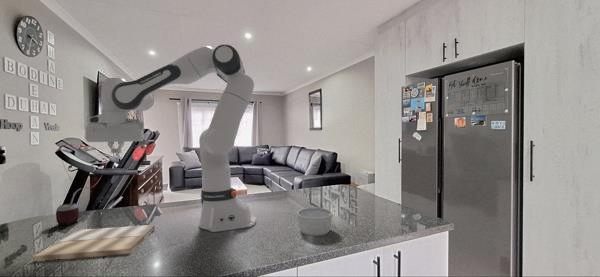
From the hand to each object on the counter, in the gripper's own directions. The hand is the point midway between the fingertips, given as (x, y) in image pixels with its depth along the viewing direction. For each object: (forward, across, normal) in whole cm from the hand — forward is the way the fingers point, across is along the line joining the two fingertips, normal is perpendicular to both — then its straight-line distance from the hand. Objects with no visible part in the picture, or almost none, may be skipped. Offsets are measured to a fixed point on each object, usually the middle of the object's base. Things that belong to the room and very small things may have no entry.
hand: (116, 153), depth 107 cm
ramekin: (+29, -77, +23) cm, 86 cm away
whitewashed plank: (+29, -4, +14) cm, 33 cm away
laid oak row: (+29, -4, +25) cm, 39 cm away
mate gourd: (+29, +20, -4) cm, 36 cm away
